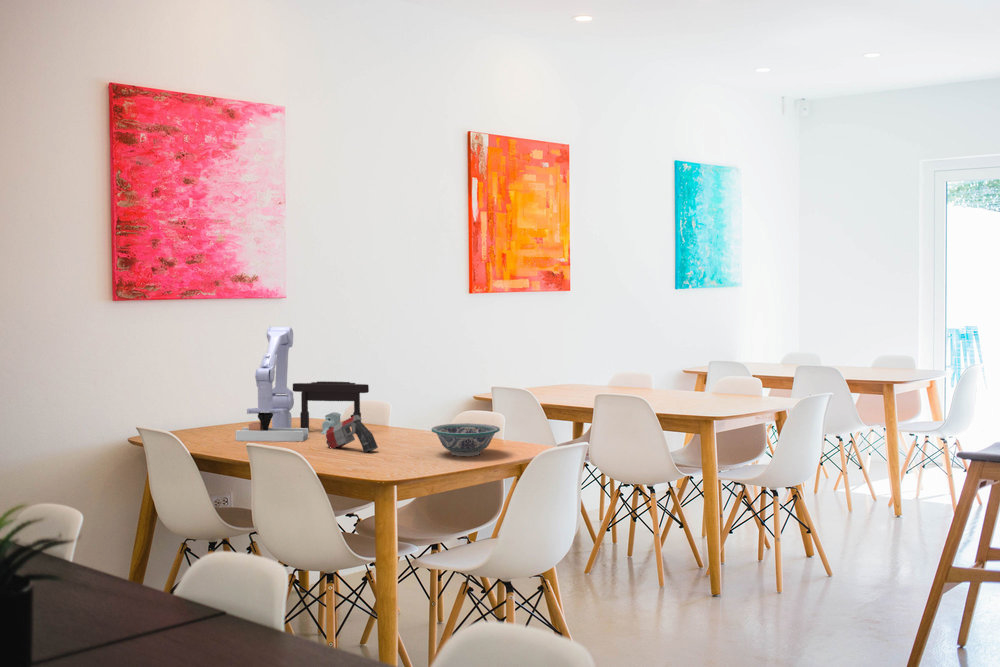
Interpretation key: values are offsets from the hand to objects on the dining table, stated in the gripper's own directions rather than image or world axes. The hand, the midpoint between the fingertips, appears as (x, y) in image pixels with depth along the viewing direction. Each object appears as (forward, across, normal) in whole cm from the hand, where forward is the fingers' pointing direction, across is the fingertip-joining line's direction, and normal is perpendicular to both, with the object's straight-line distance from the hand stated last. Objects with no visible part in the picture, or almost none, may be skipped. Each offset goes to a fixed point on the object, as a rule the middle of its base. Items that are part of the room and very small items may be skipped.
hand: (265, 431), depth 385 cm
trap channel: (+3, +2, 0) cm, 4 cm away
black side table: (+3, +21, +21) cm, 30 cm away
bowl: (+3, +83, -27) cm, 87 cm away
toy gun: (+3, +39, -21) cm, 44 cm away
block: (+1, -4, 0) cm, 4 cm away
